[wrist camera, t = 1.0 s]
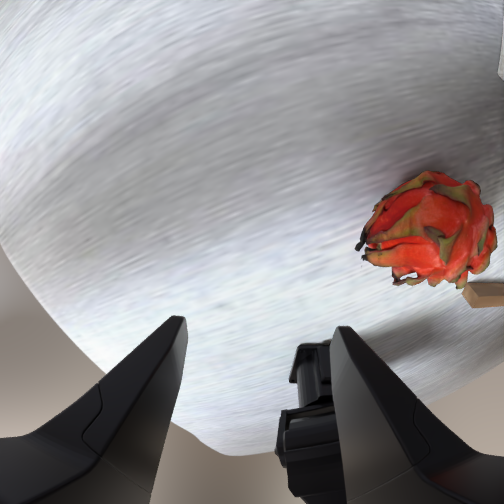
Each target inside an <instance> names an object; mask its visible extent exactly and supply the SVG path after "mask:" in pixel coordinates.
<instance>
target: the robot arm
mask: <svg viewBox="0 0 504 504" xmlns="http://www.w3.org/2000/svg"><path fill="white" fill-rule="evenodd" d="M187 343H188V331H187V324H186V319H185V317H183V316H175V315H173V316H171V317H170V318H169V319H167V320H166V321H165V322H164V323H163V324H162V325H161V326H160V327H158V328H157V329H156V330H155V331H154V332H153V333H152V334H151V335H150V336H148V337H147V338H146V339H145V340H144V341H143V342H142V343H141V344H140V345H138V346H137V347H136V348H135V349H134V350H133V351H132V352H131V353H130V354H128V355H127V356H126V357H125V358H124V359H123V360H122V361H121V362H120V363H118V364H117V365H116V366H115V367H114V368H113V369H112V370H111V371H110V372H109V373H107V374H106V375H105V376H104V377H103V378H102V379H101V380H100V381H99V384H98V383H96V384H95V385H94V386H93V387H92V388H91V389H90V390H89V391H87V392H86V393H85V394H84V395H83V396H81V397H80V398H79V399H78V400H77V401H75V402H74V403H73V404H72V405H70V406H69V407H68V408H66V409H65V410H64V411H62V412H61V413H59V414H58V415H56V416H55V417H54V418H52V419H51V420H49V421H48V422H47V423H45V424H44V425H42V426H41V427H40V428H38V429H36V430H35V431H33V432H31V433H29V434H26V435H23V436H18V437H8V438H0V504H149V502H150V498H151V494H150V493H152V489H153V485H154V481H155V477H156V473H157V470H158V466H159V462H160V458H161V454H162V450H163V447H164V443H165V439H166V435H167V432H168V428H169V424H170V421H171V417H172V414H173V410H174V406H175V403H176V399H177V396H178V392H179V389H180V385H181V380H182V374H183V368H184V361H185V355H186V349H187ZM289 382H290V383H297V385H298V398H299V408H296V409H291V410H287V409H286V410H282V411H281V417H280V419H279V428H278V436H277V443H276V447H275V454H276V455H277V456H278V457H279V459H280V462H281V465H282V466H283V468H287V475H288V488H289V490H290V491H291V492H292V494H293V495H294V496H295V497H301V499H302V500H303V501H304V502H305V503H306V504H504V457H502V456H494V455H487V454H483V453H480V452H478V451H476V450H474V449H472V448H471V447H469V446H468V445H467V444H466V443H465V442H463V440H462V439H460V438H459V437H458V436H457V435H456V434H455V433H454V432H452V431H451V430H450V429H449V428H448V427H447V426H445V424H443V423H442V422H441V421H440V420H439V419H438V418H437V417H436V416H435V415H434V414H432V412H431V411H430V410H429V409H428V408H427V407H426V406H425V405H424V404H423V403H422V402H421V401H420V399H418V398H417V396H416V395H415V394H414V393H413V392H412V391H411V390H410V389H409V388H408V387H407V386H406V385H405V383H404V382H403V381H402V380H401V379H400V378H399V377H398V376H397V375H396V374H395V373H394V372H393V371H392V370H391V369H390V368H389V366H388V365H387V364H386V363H385V362H384V361H383V360H382V359H381V358H380V357H379V356H378V355H377V354H376V353H375V352H374V351H373V350H372V349H371V348H370V347H369V345H368V344H367V343H366V342H365V341H364V340H363V339H362V338H361V337H360V336H359V335H358V334H357V333H356V332H355V331H354V330H353V329H352V328H351V327H350V326H338V327H337V328H336V329H335V332H334V335H333V338H332V341H331V343H330V345H300V346H298V347H297V350H296V354H295V358H294V361H293V365H292V369H291V372H290V376H289Z"/></svg>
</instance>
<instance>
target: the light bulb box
mask: <svg viewBox="0 0 504 504" xmlns="http://www.w3.org/2000/svg"><path fill="white" fill-rule="evenodd" d="M498 75H499V77H500V78H501V79H502V80H503V81H504V18H503V35H502V45H501V54H500V61H499V68H498Z"/></svg>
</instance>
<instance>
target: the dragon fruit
mask: <svg viewBox="0 0 504 504" xmlns="http://www.w3.org/2000/svg"><path fill="white" fill-rule="evenodd" d="M480 192H481V190H480V187H479V185H478V184H477V183H475V182H474V181H472V180H467V181H466V182H465V183H463V184H461V183H459V182H457V181H456V180H454V179H452V178H449V177H448V176H447V175H446V174H445V173H442V172H439V171H425V172H423V173H421V174H420V175H419V176H418V177H416V178H415V179H413V180H410V181H408V182H406V183H404V184H402V185H401V186H399V187H398V188H396V189H395V190H394V191H392V192H390V193H389V194H387V195H385V196H384V197H383V198H382V200H381V201H380V202H379V203H378V204H376V205H375V206H374V209H373V211H372V212H374V211H375V213H374V214H373V216H372V217H371V219H370V220H369V221H368V222H367V223H366V225H365V226H364V228H363V231H362V233H361V237H360V242H359V243H358V244H357V245H356V247H355V250H356V251H360V249H361V248H362V247H363V245H364V244H365V242H366V245H368V246H369V247H365V254H366V255H362V256H361V257H362V258H363V261H364V260H366V261H369V262H370V263H371V264H373V265H374V266H379V267H392V277H393V278H394V282H393V285H396V286H399V285H402V284H404V283H407V284H408V285H411V286H413V285H416V284H419V283H421V282H423V281H424V280H425V279H427V280H428V284H429V285H430V286H433V287H435V286H436V285H437V284H439V283H440V282H441V281H442V280H444V279H445V280H446V281H448V282H449V283H455V284H456V289H462V288H464V287H465V286H466V284H467V278H468V271H470V272H471V273H472V274H476V275H477V274H480V273H482V272H483V271H485V269H486V268H487V267H488V266H489V264H490V255H491V253H492V252H493V251H494V250H495V249H496V248H497V236H496V229H495V227H494V226H493V224H494V213H493V208H492V206H491V205H489V204H486V205H483V204H482V202H481V199H480V196H479V195H480ZM362 258H361V259H362ZM414 272H417V276H418V277H417V278H411V277H407V278H406V279H402V280H400V277H402V276H404V275H407V274H411V273H414Z"/></svg>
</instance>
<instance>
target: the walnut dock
mask: <svg viewBox="0 0 504 504" xmlns="http://www.w3.org/2000/svg"><path fill="white" fill-rule="evenodd" d="M462 295H463V296H464V298H465V299H466V300H467V302H468V303H469V304H470V306H471V307H472V308H485V307H498V306H504V283H467V284H466V286H465V288H464V290H463V292H462Z"/></svg>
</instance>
